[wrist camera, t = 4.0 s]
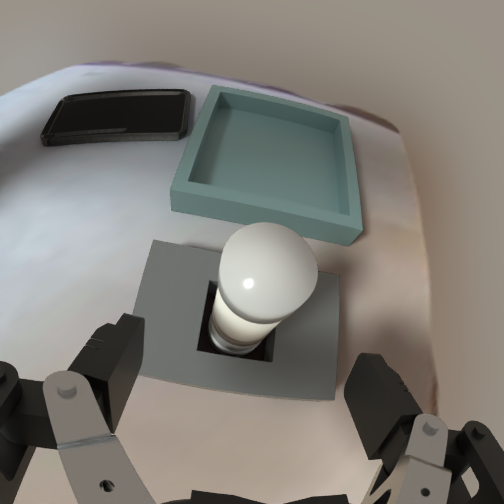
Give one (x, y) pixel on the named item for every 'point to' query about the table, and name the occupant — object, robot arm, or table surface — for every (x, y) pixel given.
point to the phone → (119, 117)
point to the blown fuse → (259, 285)
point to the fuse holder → (225, 367)
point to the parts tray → (270, 166)
